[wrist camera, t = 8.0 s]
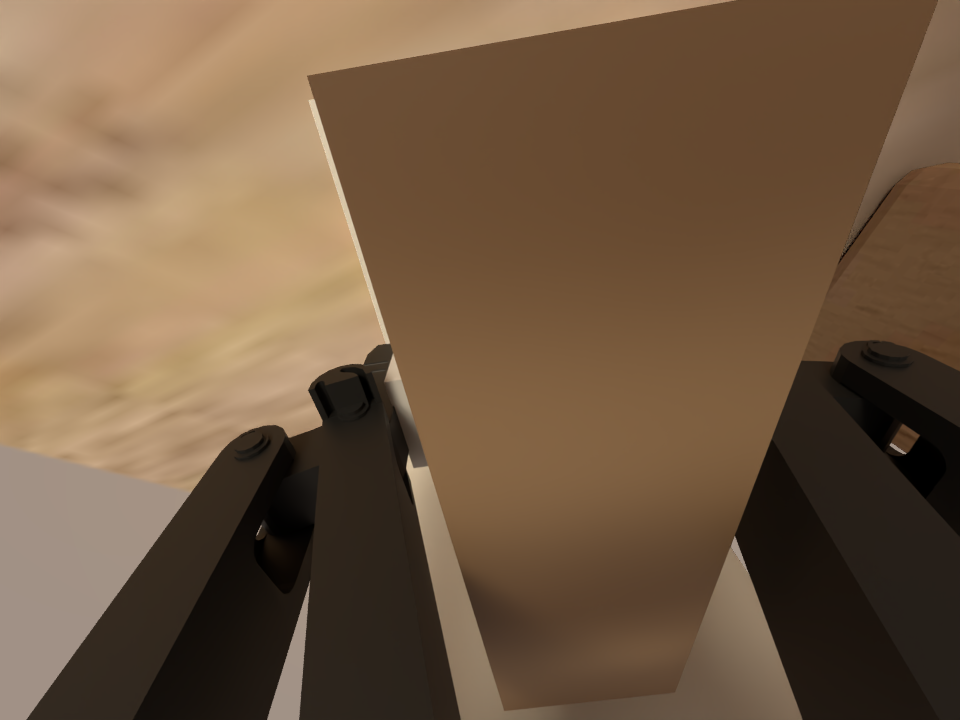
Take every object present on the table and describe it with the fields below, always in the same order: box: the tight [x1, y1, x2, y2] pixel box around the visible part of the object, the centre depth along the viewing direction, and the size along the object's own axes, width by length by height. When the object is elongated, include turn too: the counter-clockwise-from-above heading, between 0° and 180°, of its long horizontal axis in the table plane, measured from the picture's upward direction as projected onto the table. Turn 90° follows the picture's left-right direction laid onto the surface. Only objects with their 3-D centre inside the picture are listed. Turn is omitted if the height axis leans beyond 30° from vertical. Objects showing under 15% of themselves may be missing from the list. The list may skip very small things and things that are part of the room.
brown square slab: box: [307, 0, 938, 711], centre depth 10 cm, size 12×4×12 cm, turn 8°
